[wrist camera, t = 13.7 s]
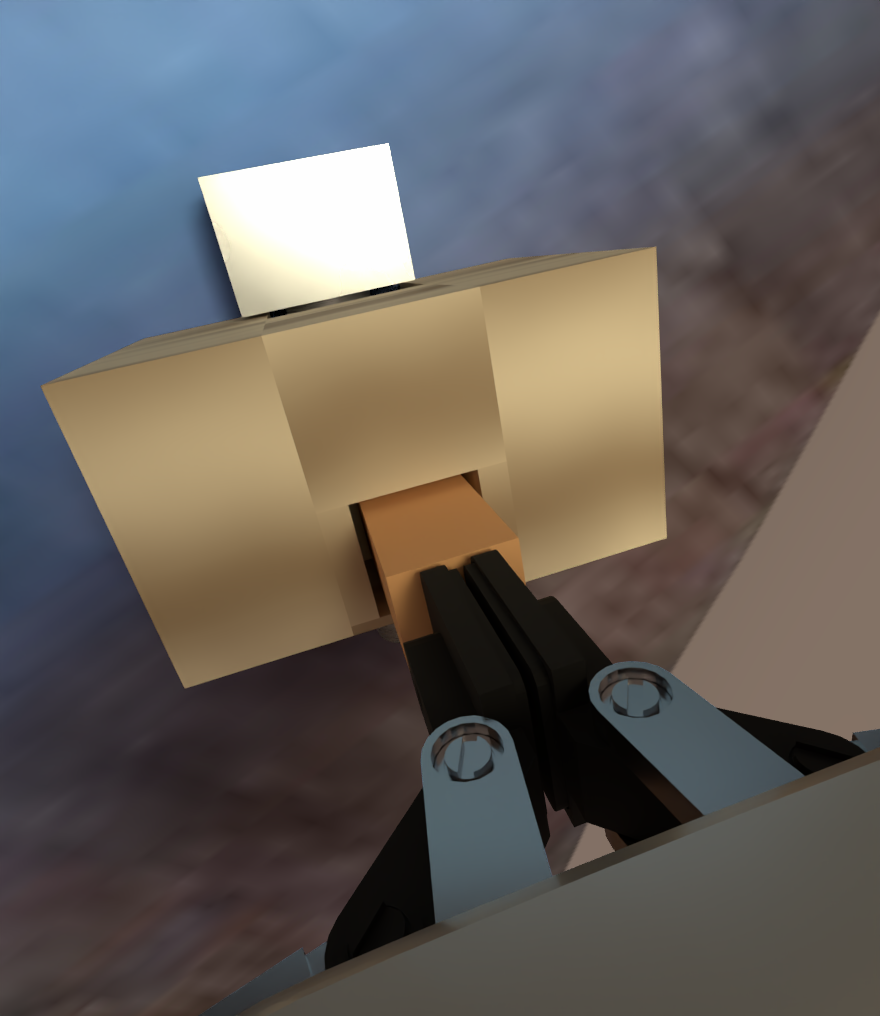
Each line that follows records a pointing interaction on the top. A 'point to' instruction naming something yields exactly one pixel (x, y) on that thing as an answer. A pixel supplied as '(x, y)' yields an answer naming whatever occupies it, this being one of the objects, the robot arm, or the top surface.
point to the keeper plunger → (430, 543)
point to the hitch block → (370, 443)
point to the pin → (311, 234)
